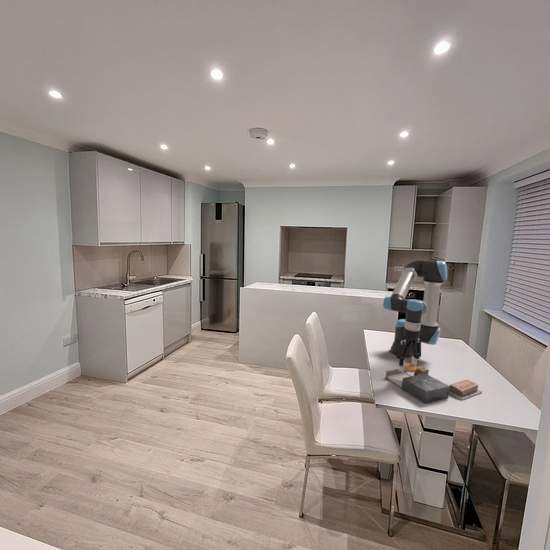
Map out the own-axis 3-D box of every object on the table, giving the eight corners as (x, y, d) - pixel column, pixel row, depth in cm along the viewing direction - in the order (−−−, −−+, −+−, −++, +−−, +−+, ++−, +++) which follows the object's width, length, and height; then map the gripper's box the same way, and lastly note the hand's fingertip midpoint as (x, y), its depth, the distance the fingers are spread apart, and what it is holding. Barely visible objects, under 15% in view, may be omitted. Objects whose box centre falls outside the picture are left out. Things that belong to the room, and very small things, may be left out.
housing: (401, 388, 153) (402, 377, 152) (423, 384, 159) (424, 373, 158) (424, 403, 140) (426, 391, 139) (448, 397, 146) (449, 386, 146)
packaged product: (463, 376, 161) (483, 385, 152) (462, 385, 162) (481, 394, 153) (443, 382, 152) (463, 392, 144) (442, 391, 153) (461, 401, 144)
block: (413, 375, 169) (414, 367, 168) (420, 374, 171) (421, 366, 170) (421, 379, 164) (422, 371, 164) (427, 378, 166) (428, 369, 166)
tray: (384, 378, 164) (385, 370, 163) (404, 374, 170) (405, 367, 169) (405, 390, 151) (406, 382, 150) (426, 386, 157) (427, 378, 156)
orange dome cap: (396, 366, 161) (396, 363, 160) (407, 364, 164) (407, 362, 164) (408, 373, 153) (408, 370, 153) (419, 371, 157) (419, 368, 156)
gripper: (403, 333, 148) (398, 376, 151) (432, 329, 157) (427, 370, 160) (391, 328, 155) (387, 370, 158) (420, 325, 164) (415, 365, 166)
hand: (407, 370), depth 159 cm, fingers closed on orange dome cap, 8 cm apart
